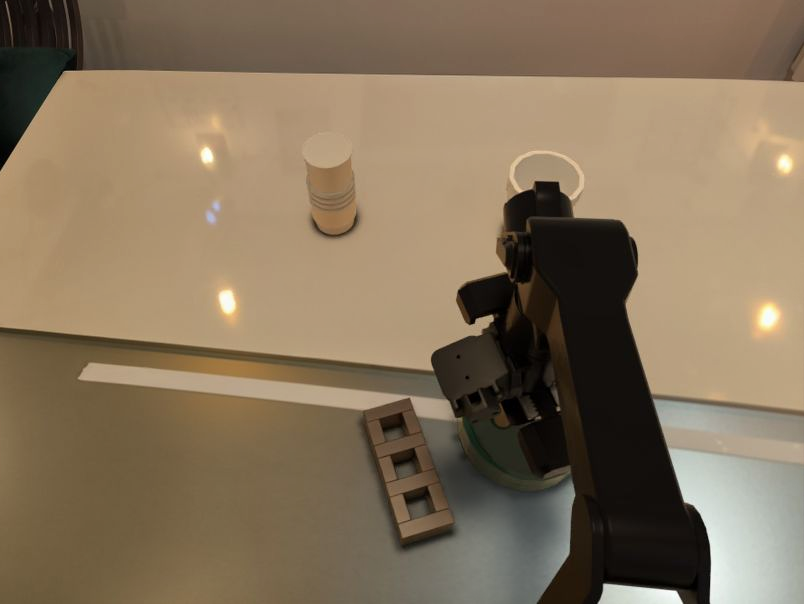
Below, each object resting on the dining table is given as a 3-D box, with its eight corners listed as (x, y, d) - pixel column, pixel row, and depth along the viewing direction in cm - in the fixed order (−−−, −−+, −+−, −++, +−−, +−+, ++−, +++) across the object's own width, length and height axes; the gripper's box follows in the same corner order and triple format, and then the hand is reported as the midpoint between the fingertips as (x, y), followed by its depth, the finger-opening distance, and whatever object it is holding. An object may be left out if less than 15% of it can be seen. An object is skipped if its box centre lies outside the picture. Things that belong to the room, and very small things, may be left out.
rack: (451, 530, 67) (454, 522, 64) (401, 545, 66) (402, 538, 63) (408, 409, 75) (409, 397, 72) (363, 422, 74) (362, 410, 71)
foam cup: (538, 274, 85) (560, 216, 74) (482, 241, 89) (495, 182, 78) (572, 231, 89) (597, 170, 78) (516, 202, 93) (533, 140, 82)
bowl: (602, 471, 69) (615, 458, 65) (485, 507, 68) (492, 497, 64) (545, 362, 77) (554, 344, 73) (440, 392, 76) (443, 376, 72)
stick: (513, 417, 66) (532, 375, 57) (506, 430, 65) (523, 390, 56) (498, 408, 67) (514, 365, 58) (490, 421, 66) (506, 380, 57)
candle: (363, 207, 94) (360, 136, 82) (348, 241, 90) (342, 173, 78) (322, 197, 96) (312, 126, 83) (306, 231, 92) (293, 162, 80)
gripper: (408, 261, 54) (404, 342, 66) (492, 468, 43) (468, 518, 56) (526, 231, 55) (500, 317, 67) (637, 426, 44) (581, 484, 57)
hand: (509, 401), depth 62 cm, fingers closed on stick, 2 cm apart
